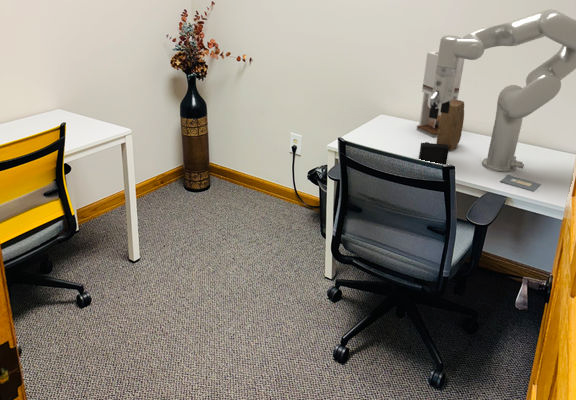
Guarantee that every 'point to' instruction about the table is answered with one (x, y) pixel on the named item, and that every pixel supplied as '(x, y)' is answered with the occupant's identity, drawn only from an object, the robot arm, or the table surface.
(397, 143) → the table surface
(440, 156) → the digital camera
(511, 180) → the card
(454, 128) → the brown rounded lump
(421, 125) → the toilet paper holder
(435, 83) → the robot arm
